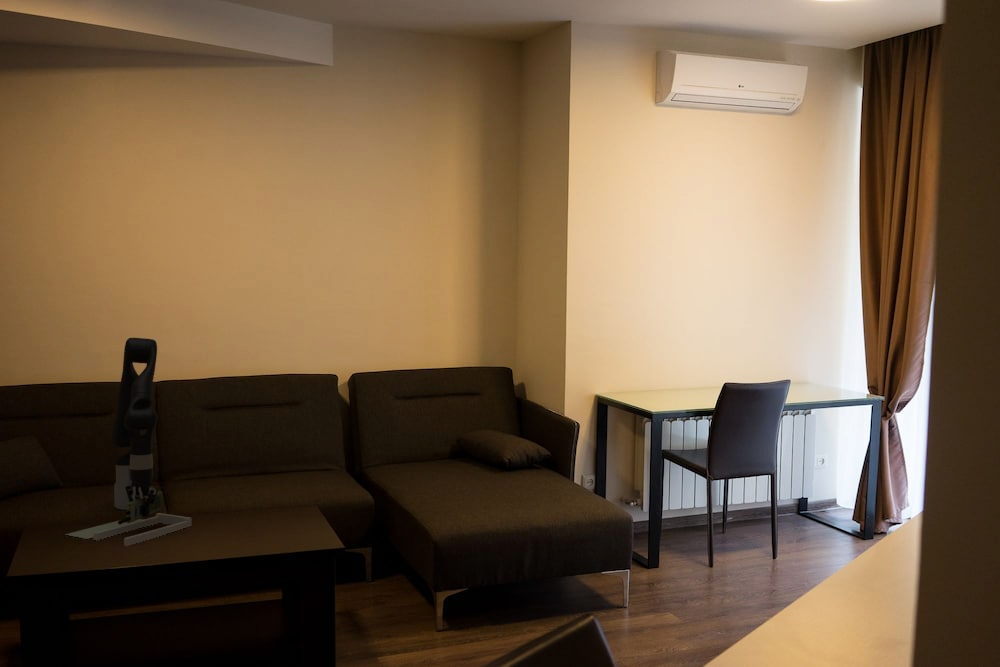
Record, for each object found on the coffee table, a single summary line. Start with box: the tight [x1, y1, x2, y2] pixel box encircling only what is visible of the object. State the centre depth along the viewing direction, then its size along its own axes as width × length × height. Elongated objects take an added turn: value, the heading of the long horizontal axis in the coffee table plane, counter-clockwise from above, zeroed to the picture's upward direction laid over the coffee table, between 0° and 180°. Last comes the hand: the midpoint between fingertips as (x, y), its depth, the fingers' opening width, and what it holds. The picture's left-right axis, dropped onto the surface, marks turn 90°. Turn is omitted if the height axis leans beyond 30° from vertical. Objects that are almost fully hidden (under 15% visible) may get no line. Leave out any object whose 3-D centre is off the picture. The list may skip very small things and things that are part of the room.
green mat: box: [64, 518, 144, 540], centre depth 324 cm, size 11×28×1 cm, turn 154°
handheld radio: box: [117, 490, 163, 525], centre depth 317 cm, size 7×3×25 cm
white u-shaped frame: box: [92, 512, 193, 547], centre depth 318 cm, size 16×28×4 cm, turn 154°
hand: (141, 515), depth 317 cm, fingers closed on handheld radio, 3 cm apart
